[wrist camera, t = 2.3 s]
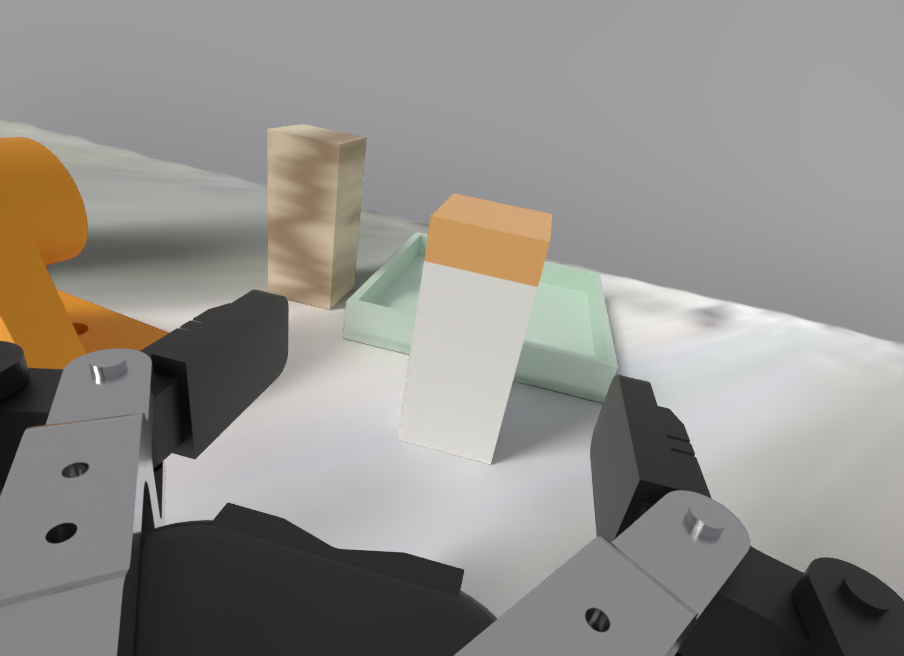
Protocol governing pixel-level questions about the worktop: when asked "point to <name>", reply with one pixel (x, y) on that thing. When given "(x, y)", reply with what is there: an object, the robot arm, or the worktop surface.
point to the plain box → (313, 212)
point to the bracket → (43, 243)
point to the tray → (547, 336)
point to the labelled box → (471, 323)
